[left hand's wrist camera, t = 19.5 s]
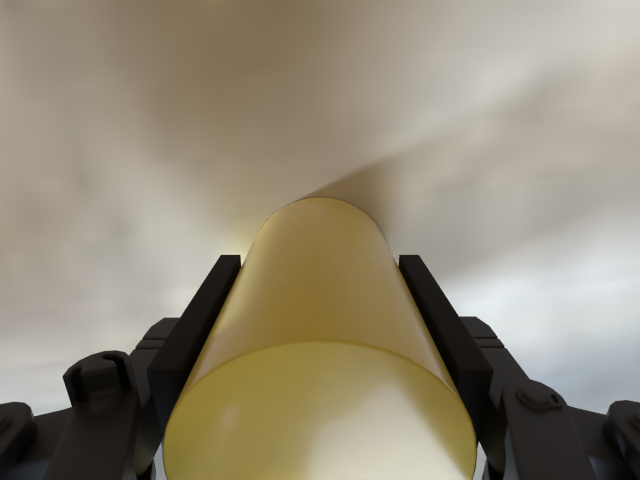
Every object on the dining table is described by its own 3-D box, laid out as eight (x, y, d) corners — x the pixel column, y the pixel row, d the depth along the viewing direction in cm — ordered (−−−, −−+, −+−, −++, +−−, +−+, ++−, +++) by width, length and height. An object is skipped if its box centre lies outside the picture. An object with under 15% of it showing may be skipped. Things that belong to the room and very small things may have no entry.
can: (417, 261, 16) (543, 465, 7) (322, 344, 18) (325, 598, 9) (316, 166, 15) (311, 270, 6) (223, 266, 17) (99, 475, 7)
